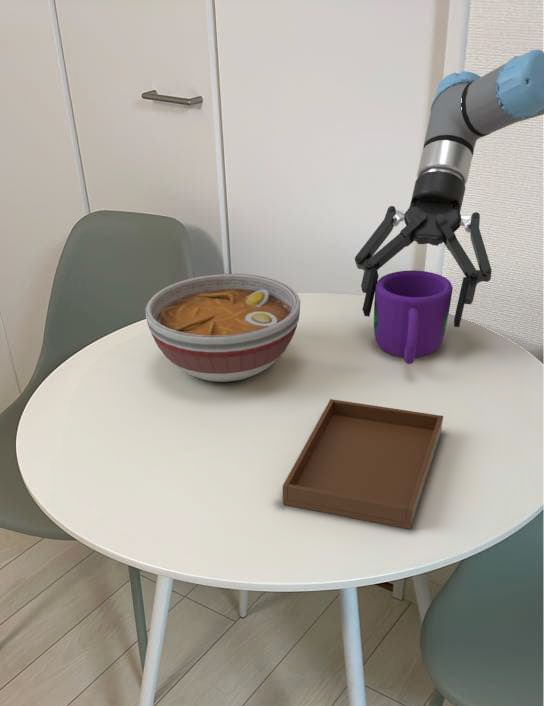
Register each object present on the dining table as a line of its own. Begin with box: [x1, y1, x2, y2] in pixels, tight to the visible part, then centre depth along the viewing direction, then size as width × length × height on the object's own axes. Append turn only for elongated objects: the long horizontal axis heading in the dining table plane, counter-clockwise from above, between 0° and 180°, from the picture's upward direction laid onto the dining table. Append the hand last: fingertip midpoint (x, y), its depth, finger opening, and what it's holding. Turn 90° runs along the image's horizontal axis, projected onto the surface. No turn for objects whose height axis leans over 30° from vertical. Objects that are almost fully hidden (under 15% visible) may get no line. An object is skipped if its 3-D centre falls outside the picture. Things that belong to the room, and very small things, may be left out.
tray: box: [282, 398, 444, 530], centre depth 94 cm, size 15×21×3 cm
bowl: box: [145, 273, 301, 383], centre depth 114 cm, size 23×23×10 cm
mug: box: [373, 269, 453, 365], centre depth 114 cm, size 17×11×10 cm, turn 171°
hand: (410, 318), depth 113 cm, fingers open, 13 cm apart
